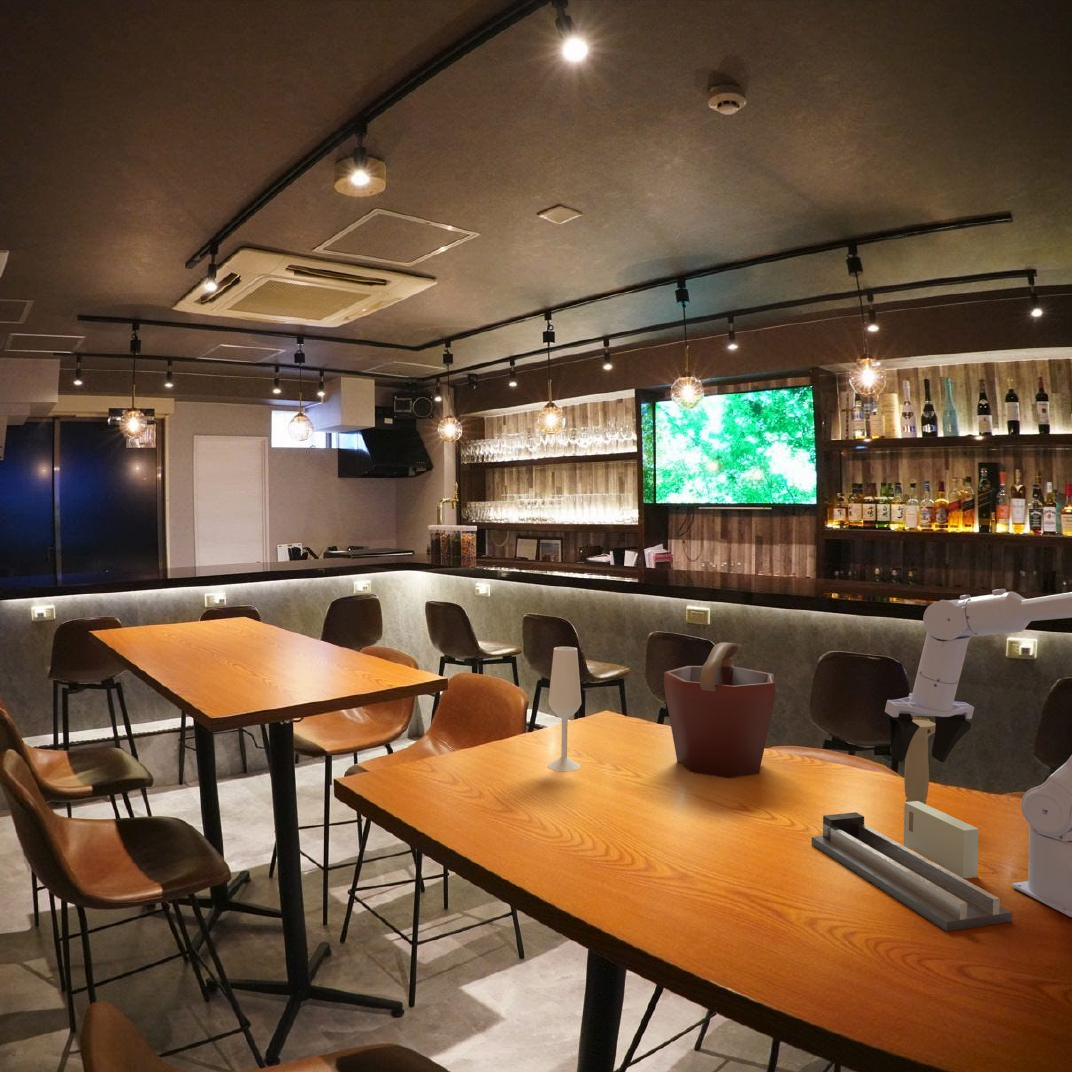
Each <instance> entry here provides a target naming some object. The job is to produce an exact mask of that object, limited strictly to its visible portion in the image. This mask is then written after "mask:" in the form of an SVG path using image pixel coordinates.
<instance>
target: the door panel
mask: <svg viewBox="0 0 1072 1072" xmlns="http://www.w3.org/2000/svg"><path fill="white" fill-rule="evenodd" d="M903 813H904V818H903V821H904V822H903V846H906V847H908V848H910V849H913V850H914V851H915V852H917V853H919V854H920V855H922V856H924V857H927V858H928V859H930V860H932V861H934V862H935V863H937V864H939V865H941V866H942V867H944V868H945V869H947V870H949V871H951V872H953V873H955V874H957V875H958V876H959V877H961V878H963V879H964V878H965V880H967V879H973V877H974V878H978V871H979V870H978V867H979V866H978V865H979V832H980V831H979V827H978V828H977V827H975V826H973V825H971V824H969V823H967V822H964V821H962V820H960V819H958V818H956V817H953V816H951V815H949V814H948V813H945V812H943V811H941V810H939V809H936V808H934V807H932V806H929V805H928V804H927V803H926V804H924V803H921V802H919V801H912V802H906V801H905V802H904V812H903Z"/></svg>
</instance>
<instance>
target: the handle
mask: <svg viewBox="0 0 1072 1072" xmlns="http://www.w3.org/2000/svg"><path fill="white" fill-rule="evenodd" d="M912 721H913V722H914V723H916V724H917V725H919V726H920V727H919V728H918V730H917V731H916V732H915V734H914V736H913V738H912V740H911V742H910V744H909V748H908V751H907V754H906V757H905V760H904V761H905V763H904V775H903V776H904V779H903V780H904V782H903V783H904V793H905V798H906V799H905V802H912V801H919V802H921V803H924V804H926V805H927V799H928V794H929V784H930V783H929V782H930V781H929V780H930V774H929V773H930V769H929V744H928V741H929V737H930V736H931V735H933V734H935V721H934V722H933V721H930V720H925V719H913V720H912Z"/></svg>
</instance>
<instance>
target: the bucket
mask: <svg viewBox="0 0 1072 1072" xmlns="http://www.w3.org/2000/svg"><path fill="white" fill-rule="evenodd" d="M741 647H742V644H741V643H735V642H719V643H716V644H715V645H714V646H713V648H712V649H711V651H710V653H709V655H708V657H707V659H706V661H705V662H704V664H703V665H686V666H682V667H678V668H675V669H671V670H667V671H664V672H663V688H664V694H665V700H666V705H667V712H668V716H669V722H670V727H671V734H672V740H673V746H674V751H675V756H676V757H675V758H676V761H677V763H678V764H680V765H681V766H683V767H684V768H685V769H687V770H688V772H690V773H691V772H693V774H698V775H705V776H712V777H719V778H724V779H725V778H726V779H732V778H740V777H747V776H752V775H753V774H754V775H760V771H761V768H762V767H761V765H762V761H763V756H764V752H765V747H766V742H767V738H768V734H769V733H768V732H769V728H770V725H771V723H770V722H771V719H772V714H773V709H774V705H775V700H776V680H775V677H774V673H771V672H770V673H769V672H767V671H766V672H764V671H761V670H754V669H750V668H749V669H748V668H743V667H739V666H735V664H734V662H733V661H734V660H733V657H734V656H735V655H736V654H737V653H738V652H739V650H740V649H741ZM754 775H753V776H754Z"/></svg>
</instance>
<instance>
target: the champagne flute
mask: <svg viewBox="0 0 1072 1072" xmlns="http://www.w3.org/2000/svg"><path fill="white" fill-rule="evenodd" d="M578 655H579V653H578V648H577V647H574V646H573V647H572V646H556V647H554V648H553V654H552V663H551V672H550V681H549V693H548V701H547V702H548V705H549V706H548V707H550V709H551V711H552V712H553V713H554V714H555V715H556V716H557V717H558V718H560V719H561V749H560V750H561V751H560V752H561V753H560V755H561V757H559V758H557V759H555V760H553V761H551V762H550V763H548V765H547V768H549V769H551V770H553V771H557V772H573V771H577V770H579V769H580V768H581V765H580V764H579V763H577V762H576V761H574V760H572V759H571V758H569V757H568V719H570V718H572V717H573V716H574V715H575V714H576V713H577V712H578V711H579V709H580V707H581V706H582V693H581V682H580V681H581V680H580V667H579V666H580V665H579V656H578Z"/></svg>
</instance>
